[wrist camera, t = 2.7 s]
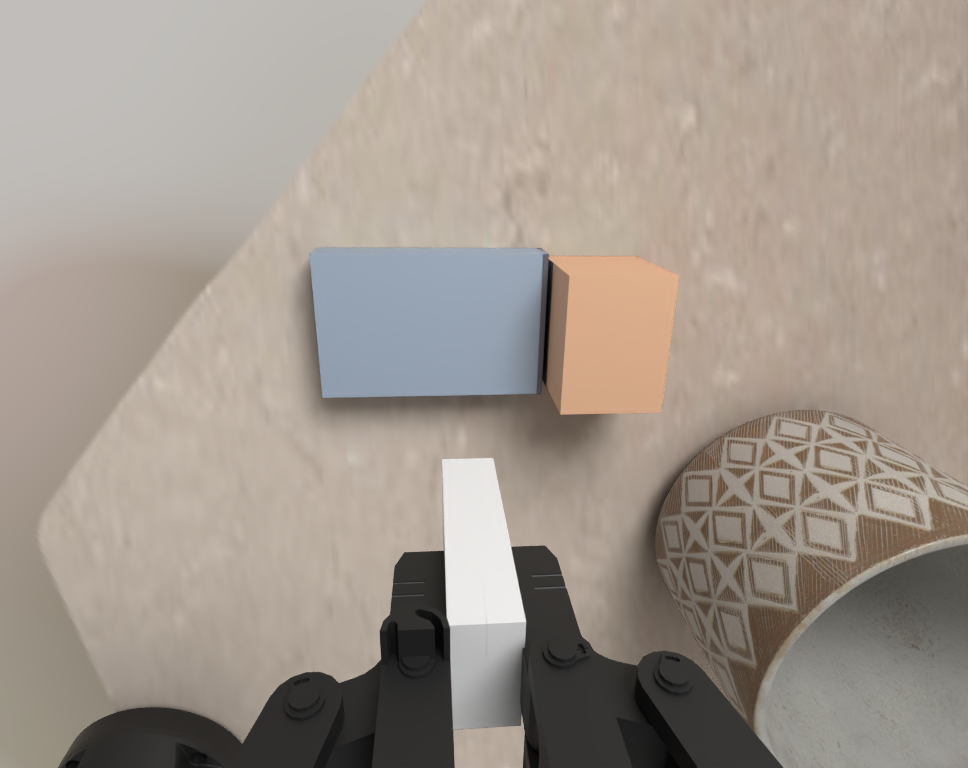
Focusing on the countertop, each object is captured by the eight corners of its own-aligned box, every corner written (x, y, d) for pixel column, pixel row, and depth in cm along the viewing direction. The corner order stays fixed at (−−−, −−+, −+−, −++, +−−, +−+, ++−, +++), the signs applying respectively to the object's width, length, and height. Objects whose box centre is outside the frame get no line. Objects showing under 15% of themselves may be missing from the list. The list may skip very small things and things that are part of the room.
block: (539, 373, 40) (560, 414, 33) (545, 256, 37) (569, 275, 31) (624, 372, 40) (661, 412, 34) (636, 256, 38) (679, 275, 31)
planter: (659, 631, 49) (762, 843, 34) (632, 434, 42) (746, 588, 27) (880, 579, 49) (1082, 767, 34) (889, 373, 42) (1149, 492, 27)
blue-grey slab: (329, 383, 39) (322, 398, 36) (317, 247, 36) (308, 253, 33) (534, 380, 40) (541, 394, 38) (541, 248, 37) (548, 254, 34)
